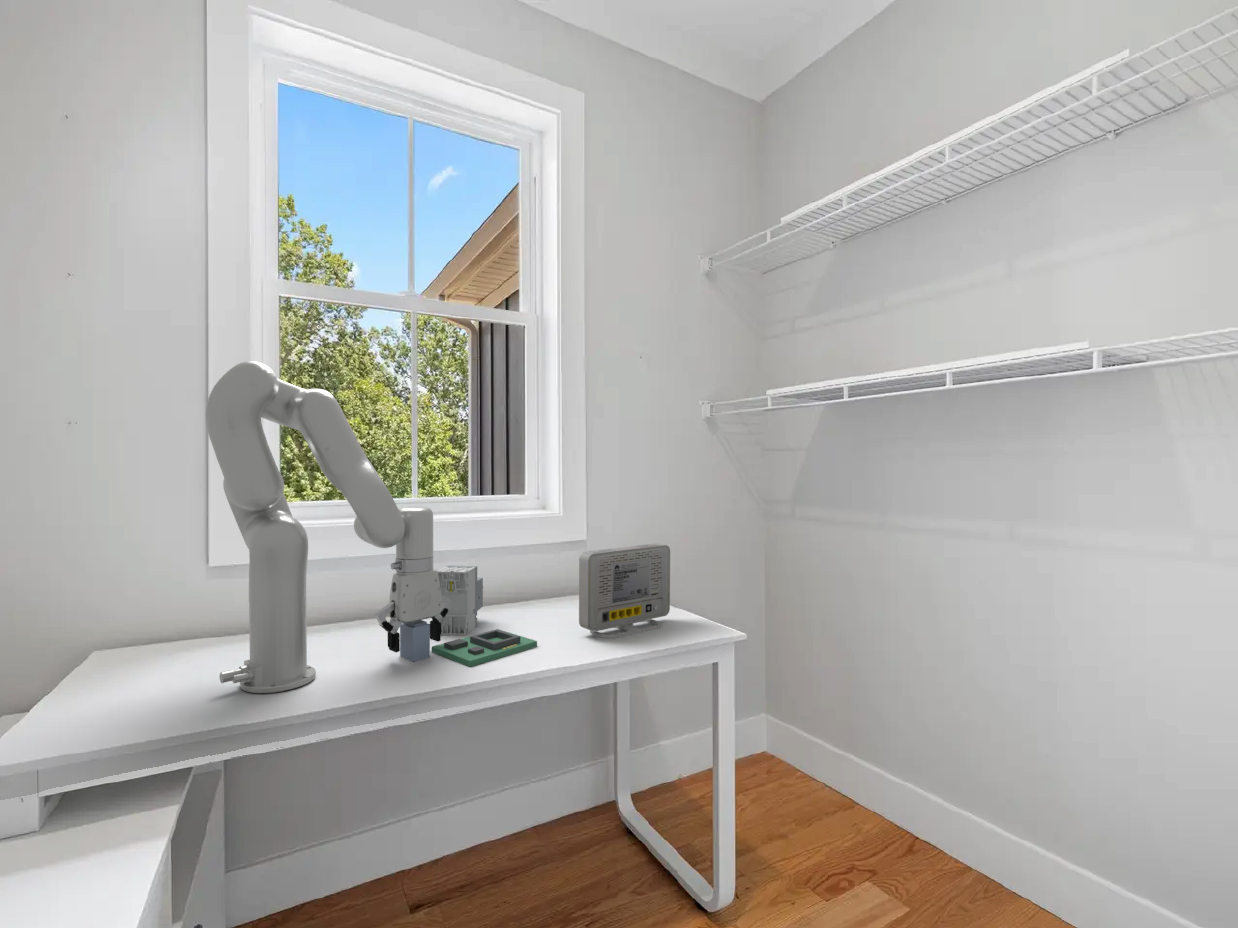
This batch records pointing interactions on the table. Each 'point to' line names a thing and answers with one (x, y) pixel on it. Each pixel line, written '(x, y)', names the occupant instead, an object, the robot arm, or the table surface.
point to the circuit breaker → (460, 598)
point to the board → (483, 647)
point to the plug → (415, 640)
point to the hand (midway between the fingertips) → (415, 645)
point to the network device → (624, 588)
